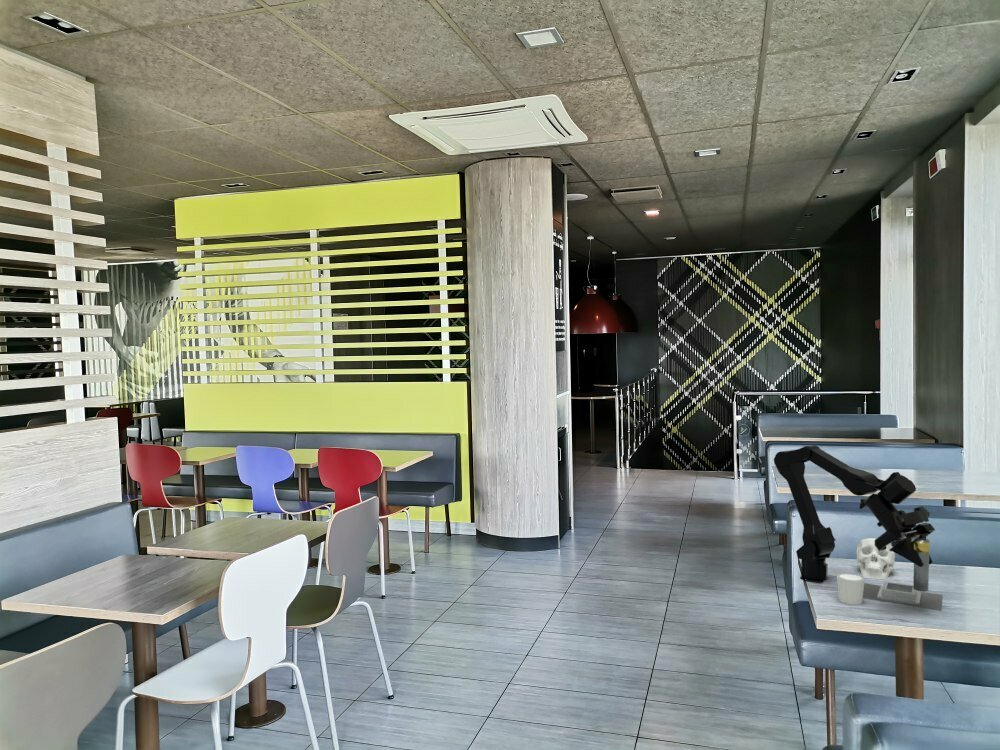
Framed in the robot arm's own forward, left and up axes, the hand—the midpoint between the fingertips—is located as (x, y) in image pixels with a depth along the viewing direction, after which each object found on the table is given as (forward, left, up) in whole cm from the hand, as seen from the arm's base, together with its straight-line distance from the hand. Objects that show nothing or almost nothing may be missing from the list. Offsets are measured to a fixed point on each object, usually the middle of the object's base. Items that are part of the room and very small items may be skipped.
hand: (926, 564), depth 187 cm
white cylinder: (-18, 0, -13) cm, 22 cm away
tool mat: (-8, +11, -13) cm, 18 cm away
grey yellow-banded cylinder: (-1, +1, -7) cm, 7 cm away
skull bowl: (-15, +31, -13) cm, 37 cm away
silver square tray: (-7, +10, -12) cm, 17 cm away
